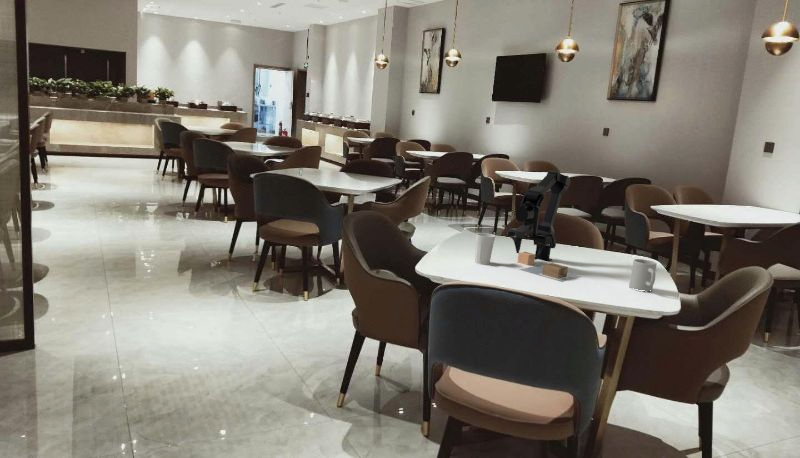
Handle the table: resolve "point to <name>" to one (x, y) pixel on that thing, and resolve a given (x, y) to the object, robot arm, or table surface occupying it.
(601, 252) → the table surface
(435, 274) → the table surface
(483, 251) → the cup
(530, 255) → the top block
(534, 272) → the plate
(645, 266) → the mug
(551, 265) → the base block
